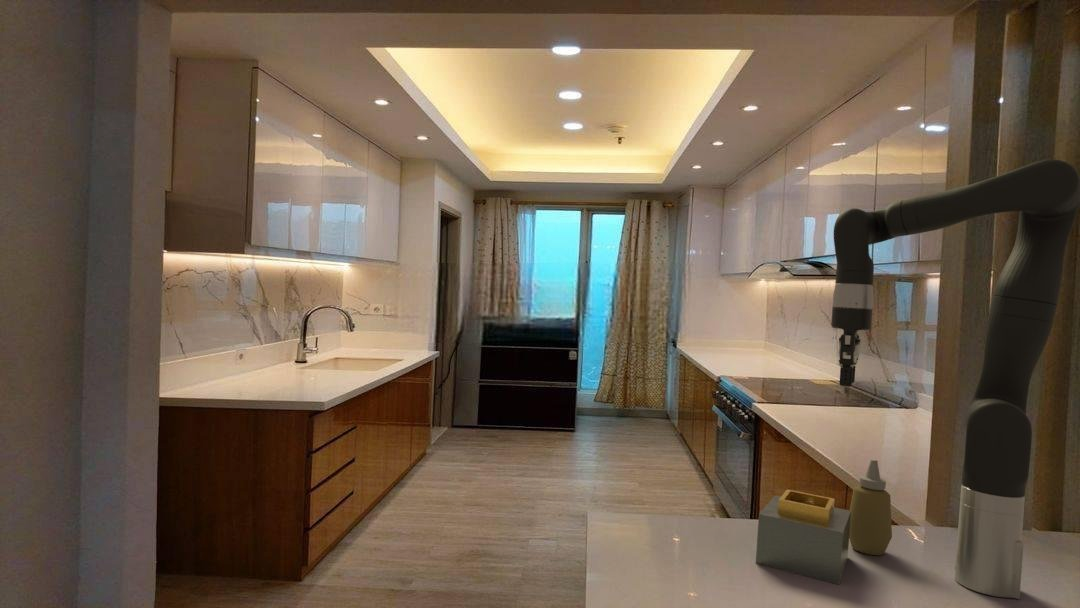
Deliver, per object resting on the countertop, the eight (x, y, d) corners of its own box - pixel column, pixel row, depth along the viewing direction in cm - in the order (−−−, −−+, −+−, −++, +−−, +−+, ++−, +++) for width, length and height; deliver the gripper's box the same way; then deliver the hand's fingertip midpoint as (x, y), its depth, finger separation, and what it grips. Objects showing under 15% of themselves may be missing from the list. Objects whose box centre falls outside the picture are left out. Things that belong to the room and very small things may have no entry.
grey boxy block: (847, 557, 123) (851, 497, 123) (839, 584, 110) (843, 518, 110) (771, 539, 131) (775, 483, 130) (755, 562, 118) (759, 500, 118)
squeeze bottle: (880, 544, 132) (886, 457, 131) (898, 560, 123) (904, 467, 123) (839, 540, 132) (845, 453, 132) (854, 556, 124) (861, 463, 124)
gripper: (871, 306, 125) (865, 389, 125) (873, 308, 138) (868, 383, 138) (829, 304, 129) (823, 385, 129) (835, 306, 141) (830, 379, 141)
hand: (847, 384), depth 133 cm, fingers open, 8 cm apart
